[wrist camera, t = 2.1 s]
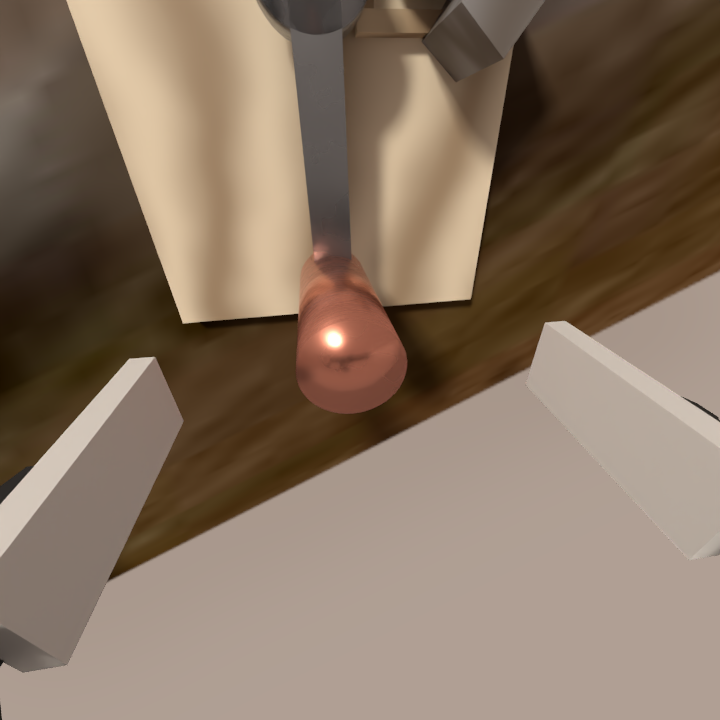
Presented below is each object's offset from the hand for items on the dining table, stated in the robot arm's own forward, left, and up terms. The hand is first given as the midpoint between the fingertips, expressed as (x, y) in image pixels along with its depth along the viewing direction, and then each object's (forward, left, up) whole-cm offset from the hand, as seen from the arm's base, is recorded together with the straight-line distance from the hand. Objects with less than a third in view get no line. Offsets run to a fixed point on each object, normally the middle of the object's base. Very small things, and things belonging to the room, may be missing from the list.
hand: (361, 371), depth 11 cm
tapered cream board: (0, +7, -14) cm, 16 cm away
